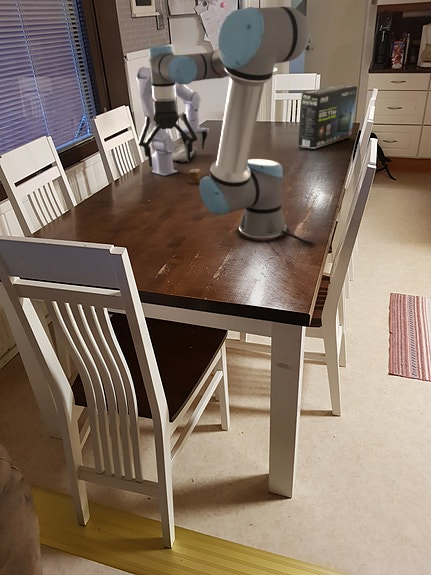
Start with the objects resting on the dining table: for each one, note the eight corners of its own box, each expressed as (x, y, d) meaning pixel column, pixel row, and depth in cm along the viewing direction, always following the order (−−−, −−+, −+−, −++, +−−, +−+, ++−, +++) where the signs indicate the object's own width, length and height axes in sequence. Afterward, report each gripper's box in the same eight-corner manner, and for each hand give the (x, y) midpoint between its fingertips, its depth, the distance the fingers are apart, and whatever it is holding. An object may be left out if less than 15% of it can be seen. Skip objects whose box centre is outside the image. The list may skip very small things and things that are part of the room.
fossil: (184, 156, 217) (163, 136, 220) (174, 174, 223) (154, 154, 227) (205, 153, 231) (186, 134, 234) (195, 171, 237) (176, 152, 240)
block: (201, 179, 199) (201, 169, 196) (198, 183, 194) (197, 172, 192) (192, 179, 200) (192, 168, 197) (189, 183, 195) (188, 172, 193)
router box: (314, 151, 231) (318, 94, 217) (296, 148, 237) (299, 92, 224) (352, 138, 251) (358, 85, 238) (335, 135, 258) (340, 83, 245)
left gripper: (206, 116, 216) (207, 145, 223) (175, 118, 213) (178, 148, 220) (209, 119, 210) (210, 149, 217) (178, 121, 207) (180, 152, 214)
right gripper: (199, 94, 155) (201, 157, 167) (125, 100, 150) (132, 164, 161) (204, 98, 149) (206, 162, 160) (127, 104, 144) (135, 170, 155)
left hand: (194, 149), depth 218 cm, fingers open, 7 cm apart
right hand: (169, 163), depth 161 cm, fingers open, 13 cm apart
